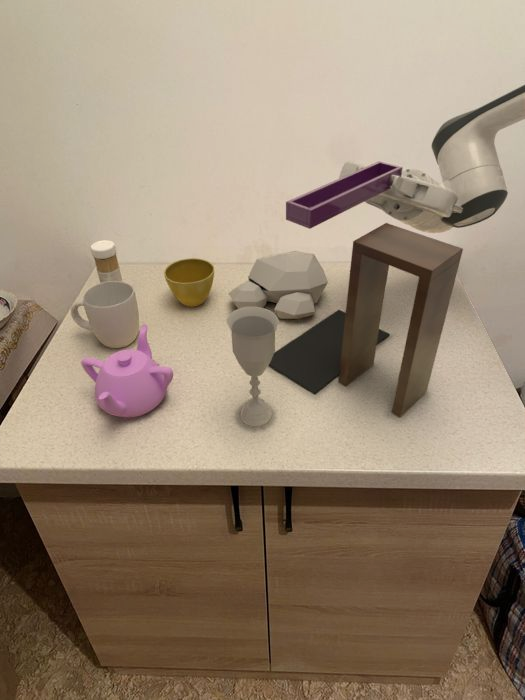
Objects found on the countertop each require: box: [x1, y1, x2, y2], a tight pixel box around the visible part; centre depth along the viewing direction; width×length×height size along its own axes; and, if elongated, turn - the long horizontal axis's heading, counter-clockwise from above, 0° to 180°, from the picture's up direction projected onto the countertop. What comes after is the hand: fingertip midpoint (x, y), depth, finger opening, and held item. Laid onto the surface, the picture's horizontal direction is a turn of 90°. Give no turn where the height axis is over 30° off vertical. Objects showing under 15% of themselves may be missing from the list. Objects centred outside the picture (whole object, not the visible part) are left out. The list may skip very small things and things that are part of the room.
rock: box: [228, 250, 329, 320], centre depth 102 cm, size 18×20×10 cm
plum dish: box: [285, 160, 404, 230], centre depth 74 cm, size 22×4×3 cm, turn 135°
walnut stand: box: [338, 222, 464, 418], centre depth 76 cm, size 8×12×26 cm, turn 46°
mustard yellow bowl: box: [163, 257, 215, 308], centre depth 103 cm, size 10×10×7 cm
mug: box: [70, 281, 140, 349], centre depth 93 cm, size 13×9×10 cm
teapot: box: [80, 323, 174, 419], centre depth 80 cm, size 12×14×9 cm
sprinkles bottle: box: [90, 239, 124, 283], centre depth 101 cm, size 5×5×14 cm
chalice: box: [226, 307, 280, 427], centre depth 74 cm, size 7×7×18 cm
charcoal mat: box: [268, 309, 391, 395], centre depth 92 cm, size 22×12×1 cm, turn 136°
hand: (376, 175), depth 77 cm, fingers closed on plum dish, 4 cm apart
